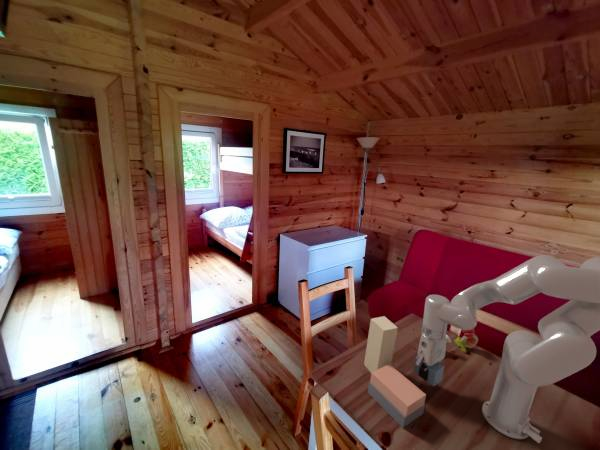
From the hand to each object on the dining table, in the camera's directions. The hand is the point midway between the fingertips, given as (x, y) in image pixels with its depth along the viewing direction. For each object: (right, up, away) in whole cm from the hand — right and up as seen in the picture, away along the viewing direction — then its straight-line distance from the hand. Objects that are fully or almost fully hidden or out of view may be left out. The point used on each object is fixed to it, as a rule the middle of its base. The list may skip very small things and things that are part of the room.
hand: (427, 374), depth 98 cm
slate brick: (0, -1, 0) cm, 1 cm away
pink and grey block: (-14, -6, -6) cm, 17 cm away
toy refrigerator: (-16, -3, +8) cm, 18 cm away
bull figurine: (+12, -1, +22) cm, 25 cm away
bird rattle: (+28, -2, +24) cm, 37 cm away
